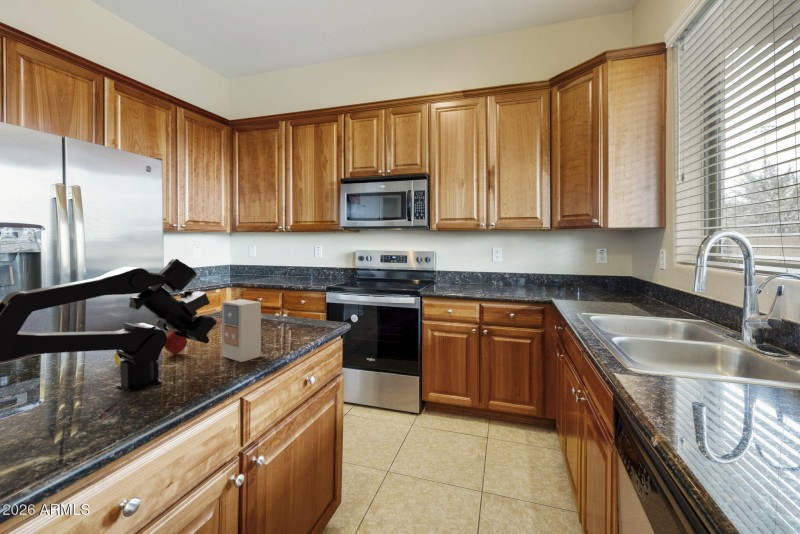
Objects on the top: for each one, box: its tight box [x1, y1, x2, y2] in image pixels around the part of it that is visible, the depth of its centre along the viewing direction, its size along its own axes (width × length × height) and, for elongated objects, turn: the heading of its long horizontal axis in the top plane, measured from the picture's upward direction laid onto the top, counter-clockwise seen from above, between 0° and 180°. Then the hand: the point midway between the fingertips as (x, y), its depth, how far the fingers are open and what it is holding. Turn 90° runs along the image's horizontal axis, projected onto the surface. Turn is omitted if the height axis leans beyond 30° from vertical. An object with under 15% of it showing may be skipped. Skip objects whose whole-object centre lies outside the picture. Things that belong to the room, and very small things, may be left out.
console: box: [221, 298, 262, 363], centre depth 108 cm, size 6×9×16 cm
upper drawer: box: [224, 305, 238, 325], centre depth 105 cm, size 3×6×5 cm, turn 59°
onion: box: [164, 330, 188, 356], centre depth 108 cm, size 6×6×8 cm
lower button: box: [224, 325, 239, 346], centre depth 106 cm, size 3×6×5 cm, turn 59°
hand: (207, 341), depth 99 cm, fingers closed
